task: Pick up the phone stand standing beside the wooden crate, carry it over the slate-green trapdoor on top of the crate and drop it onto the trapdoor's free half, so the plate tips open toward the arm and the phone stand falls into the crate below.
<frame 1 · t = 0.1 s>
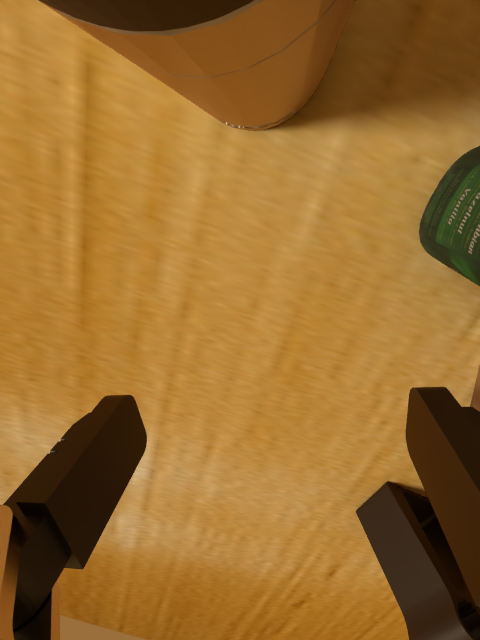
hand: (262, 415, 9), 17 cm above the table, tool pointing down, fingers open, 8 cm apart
phone stand: (404, 507, 36), on the table
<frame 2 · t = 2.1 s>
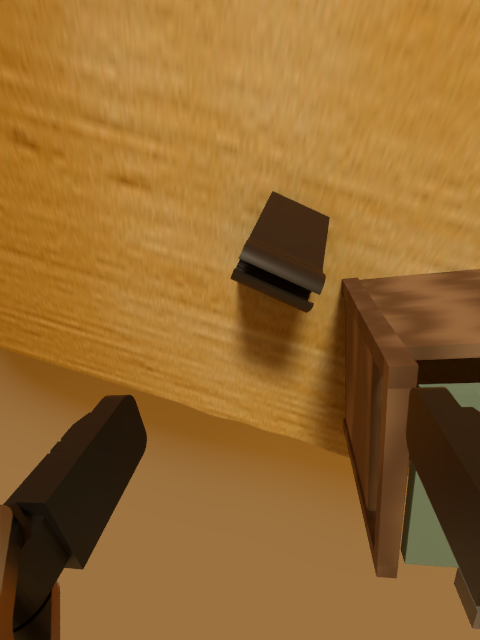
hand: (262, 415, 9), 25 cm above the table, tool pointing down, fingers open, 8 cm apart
phone stand: (280, 246, 32), on the table
wooden crate: (437, 357, 34), on the table
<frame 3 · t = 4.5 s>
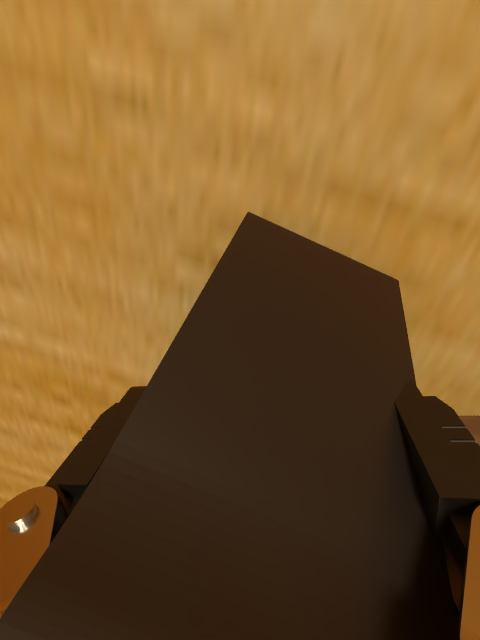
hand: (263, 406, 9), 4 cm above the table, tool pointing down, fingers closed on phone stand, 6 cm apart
phone stand: (271, 337, 14), on the table, touching gripper
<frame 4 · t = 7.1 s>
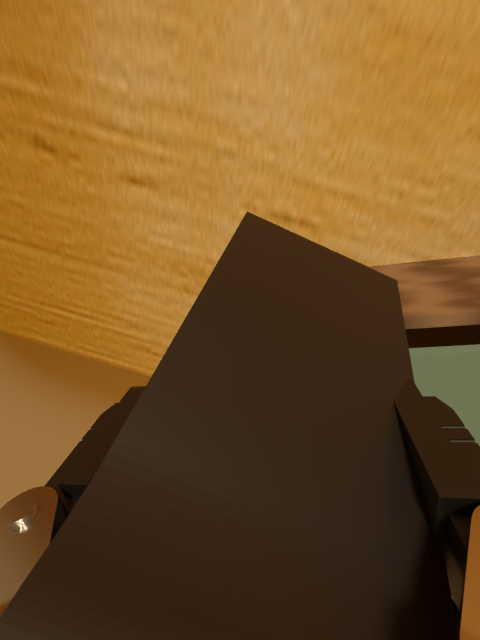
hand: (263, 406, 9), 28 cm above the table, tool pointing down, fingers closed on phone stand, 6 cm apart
phone stand: (270, 337, 14), point 24 cm above the table, touching gripper
wooden crate: (416, 339, 38), on the table
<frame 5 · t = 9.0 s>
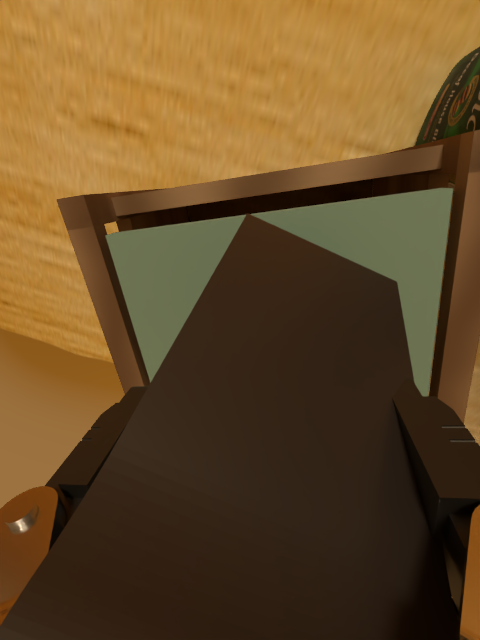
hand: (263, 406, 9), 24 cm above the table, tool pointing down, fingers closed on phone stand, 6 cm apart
coffee jar: (467, 128, 25), on the table
trapdoor: (282, 399, 19), point 16 cm above the table, hinge at 0.0°
phone stand: (270, 338, 14), point 19 cm above the table, touching gripper
wooden crate: (282, 278, 32), on the table
when the fingers open (24 cm above the table, at t = 10.0 s): phone stand drops 10 cm, resting on trapdoor, wooden crate.
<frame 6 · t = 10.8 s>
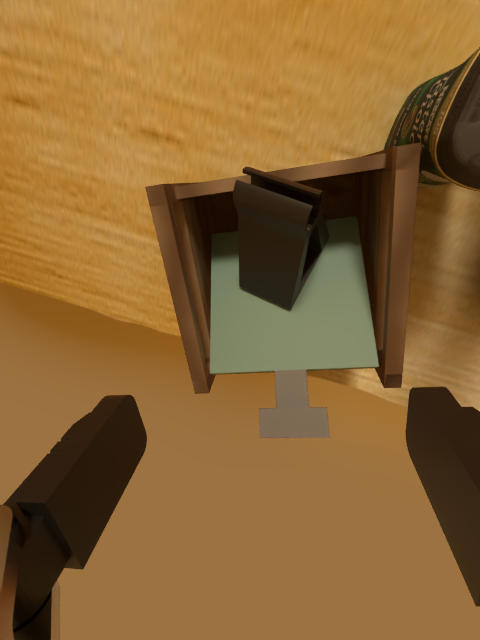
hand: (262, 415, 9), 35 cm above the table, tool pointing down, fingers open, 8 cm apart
coffee jar: (421, 138, 34), on the table
trapdoor: (287, 321, 32), point 13 cm above the table, hinge at -41.0°, touching phone stand
phone stand: (284, 264, 33), point 9 cm above the table, touching trapdoor, wooden crate
wooden crate: (284, 253, 41), on the table
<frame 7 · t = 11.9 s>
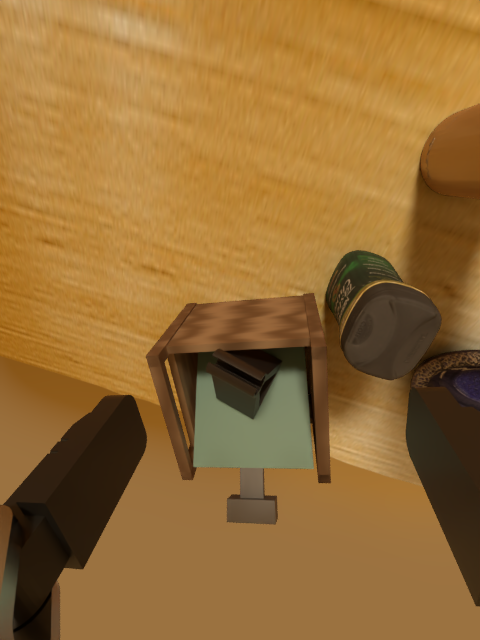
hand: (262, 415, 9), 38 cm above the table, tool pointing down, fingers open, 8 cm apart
coffee jar: (355, 282, 45), on the table
trapdoor: (251, 427, 43), point 13 cm above the table, hinge at -43.6°, touching phone stand
phone stand: (250, 379, 44), point 9 cm above the table, touching trapdoor
wooden crate: (255, 353, 52), on the table
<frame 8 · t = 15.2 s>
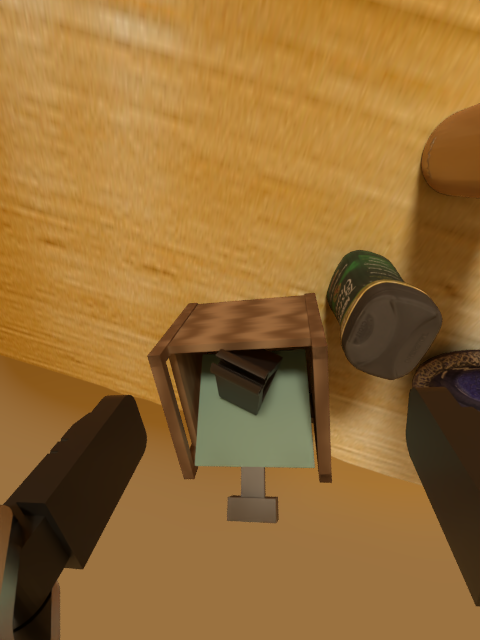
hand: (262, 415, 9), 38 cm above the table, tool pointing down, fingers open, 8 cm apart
coffee jar: (356, 282, 45), on the table
trapdoor: (253, 427, 43), point 12 cm above the table, hinge at -49.7°, touching phone stand
phone stand: (251, 377, 45), point 8 cm above the table, touching trapdoor, wooden crate
wooden crate: (256, 353, 52), on the table
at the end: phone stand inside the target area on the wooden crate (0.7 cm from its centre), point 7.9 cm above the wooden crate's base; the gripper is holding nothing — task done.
